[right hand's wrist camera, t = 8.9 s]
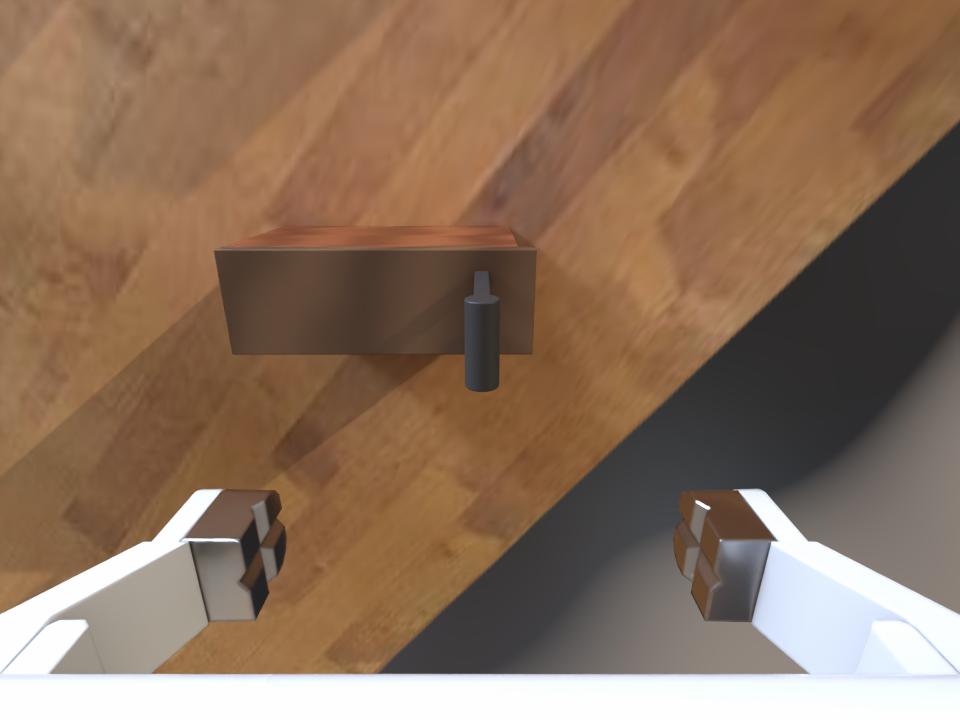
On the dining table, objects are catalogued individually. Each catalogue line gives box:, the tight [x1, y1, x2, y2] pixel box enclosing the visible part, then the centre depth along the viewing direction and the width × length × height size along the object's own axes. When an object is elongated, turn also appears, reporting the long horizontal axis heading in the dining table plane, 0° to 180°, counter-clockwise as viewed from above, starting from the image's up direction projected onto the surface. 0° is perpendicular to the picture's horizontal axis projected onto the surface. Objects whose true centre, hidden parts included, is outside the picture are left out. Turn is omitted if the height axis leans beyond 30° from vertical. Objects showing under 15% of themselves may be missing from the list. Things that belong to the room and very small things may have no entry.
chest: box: [226, 226, 518, 246], centre depth 32 cm, size 15×6×9 cm, turn 90°
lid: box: [214, 246, 537, 392], centre depth 24 cm, size 16×6×8 cm, turn 90°
